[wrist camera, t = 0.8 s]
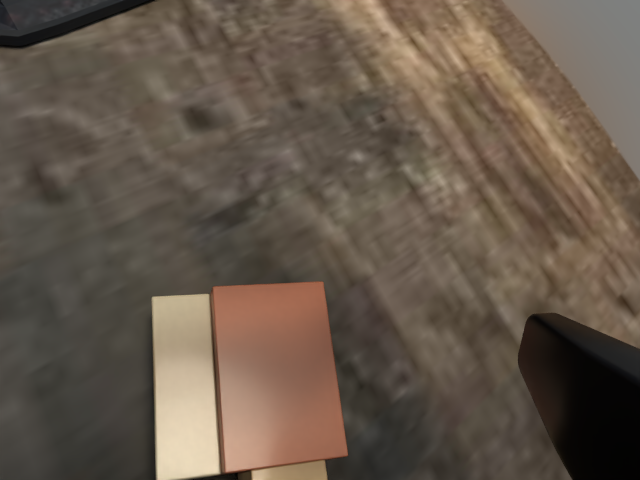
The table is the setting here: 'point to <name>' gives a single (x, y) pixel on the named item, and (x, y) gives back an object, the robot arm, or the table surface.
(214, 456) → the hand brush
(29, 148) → the table surface
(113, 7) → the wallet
